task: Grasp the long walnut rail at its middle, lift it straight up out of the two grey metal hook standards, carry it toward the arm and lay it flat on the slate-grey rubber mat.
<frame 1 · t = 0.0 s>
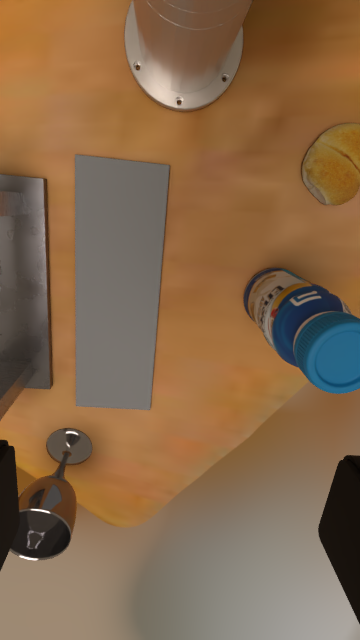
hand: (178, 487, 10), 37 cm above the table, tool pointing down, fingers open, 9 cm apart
bread roll: (334, 166, 42), on the table
grey mat: (118, 298, 45), on the table
hook standards: (11, 289, 44), on the table
beverage bottle: (271, 295, 47), on the table
wine glass: (69, 446, 53), on the table
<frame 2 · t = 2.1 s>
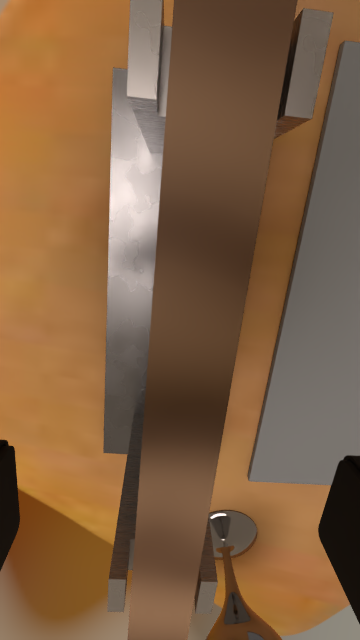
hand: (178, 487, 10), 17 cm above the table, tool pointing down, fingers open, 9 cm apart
grey mat: (350, 313, 27), on the table
hook standards: (175, 299, 26), on the table
walnut rail: (182, 379, 15), point 12 cm above the table, touching hook standards
wine glass: (222, 533, 35), on the table
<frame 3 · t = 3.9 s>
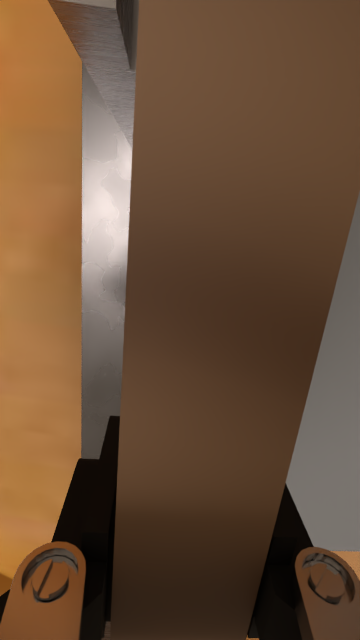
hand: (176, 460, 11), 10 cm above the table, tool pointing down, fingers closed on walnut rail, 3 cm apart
hook standards: (169, 336, 21), on the table
walnut rail: (179, 502, 9), point 12 cm above the table, touching gripper, hook standards
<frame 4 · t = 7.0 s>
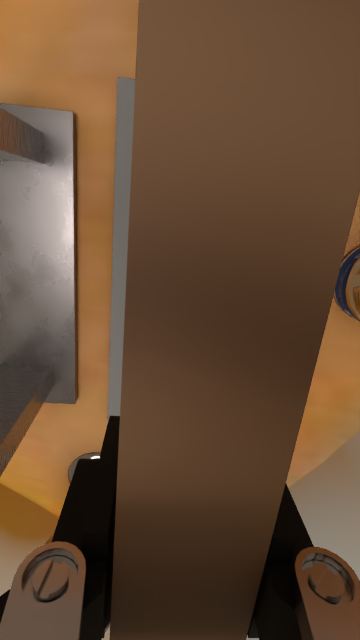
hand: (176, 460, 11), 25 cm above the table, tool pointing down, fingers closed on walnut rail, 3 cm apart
grey mat: (167, 283, 34), on the table
hook standards: (25, 271, 33), on the table
walnut rail: (179, 503, 9), point 26 cm above the table, touching gripper
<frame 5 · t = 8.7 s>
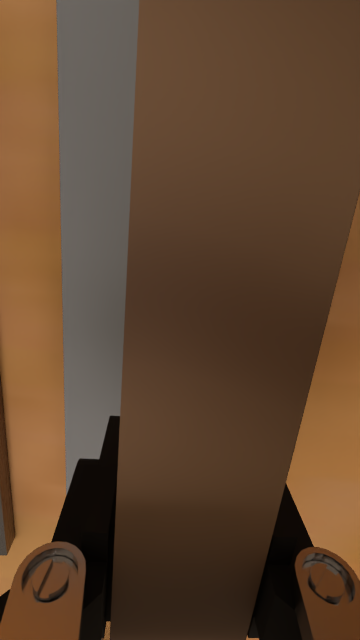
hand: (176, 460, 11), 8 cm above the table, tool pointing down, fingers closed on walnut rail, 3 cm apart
grey mat: (172, 351, 18), on the table
walnut rail: (178, 504, 9), point 9 cm above the table, touching gripper
when the fingers open (1 cm above the table, at t = 10.3 s): walnut rail drops 2 cm, resting on grey mat.
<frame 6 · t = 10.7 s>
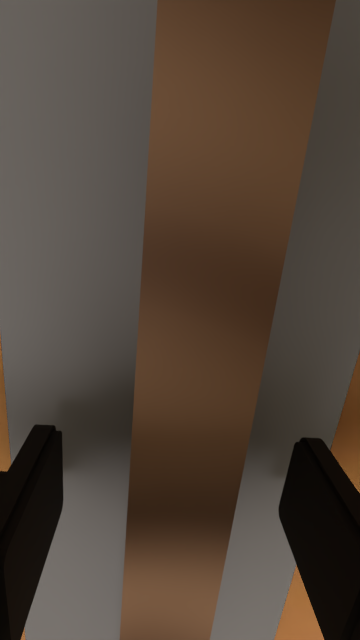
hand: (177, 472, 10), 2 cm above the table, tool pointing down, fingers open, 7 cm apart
grey mat: (175, 431, 12), on the table
walnut rail: (178, 442, 11), point 1 cm above the table, touching grey mat
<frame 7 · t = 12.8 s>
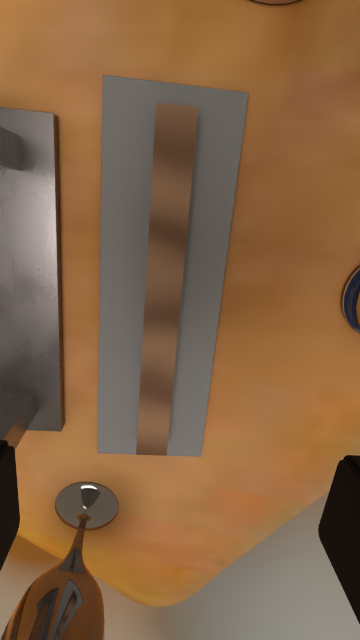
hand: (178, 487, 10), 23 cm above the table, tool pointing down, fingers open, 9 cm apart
grey mat: (160, 299, 31), on the table
hook standards: (4, 288, 30), on the table
walnut rail: (162, 301, 31), point 1 cm above the table, touching grey mat
wine glass: (87, 505, 39), on the table
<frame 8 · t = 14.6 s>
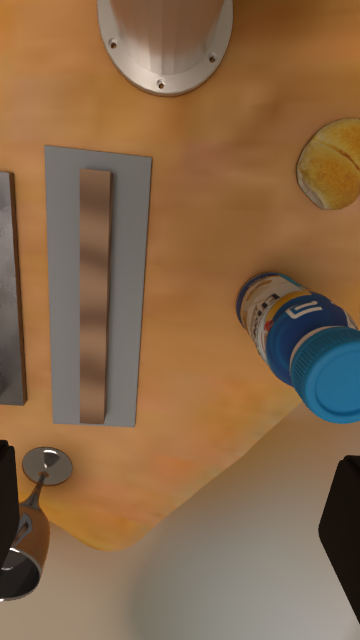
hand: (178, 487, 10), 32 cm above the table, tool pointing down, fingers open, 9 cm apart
bread roll: (333, 167, 38), on the table
grey mat: (97, 305, 41), on the table
walnut rail: (97, 306, 41), point 1 cm above the table, touching grey mat
beverage bottle: (266, 303, 42), on the table
wine glass: (47, 466, 49), on the table
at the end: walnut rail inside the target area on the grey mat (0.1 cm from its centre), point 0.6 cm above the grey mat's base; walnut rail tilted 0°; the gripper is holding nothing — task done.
